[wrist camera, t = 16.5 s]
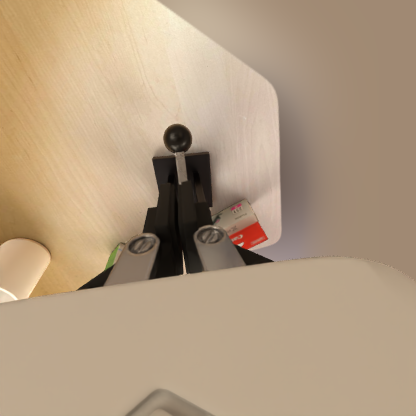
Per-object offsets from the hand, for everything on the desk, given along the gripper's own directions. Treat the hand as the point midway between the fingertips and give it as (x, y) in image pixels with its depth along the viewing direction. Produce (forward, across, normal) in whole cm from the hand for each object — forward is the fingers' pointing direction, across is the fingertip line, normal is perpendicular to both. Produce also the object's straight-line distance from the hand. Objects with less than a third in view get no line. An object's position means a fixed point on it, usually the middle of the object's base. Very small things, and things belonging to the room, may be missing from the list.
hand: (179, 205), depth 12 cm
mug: (+23, +32, +21) cm, 45 cm away
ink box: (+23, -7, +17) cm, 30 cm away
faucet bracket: (+23, 0, +9) cm, 25 cm away
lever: (+16, 0, +5) cm, 17 cm away
